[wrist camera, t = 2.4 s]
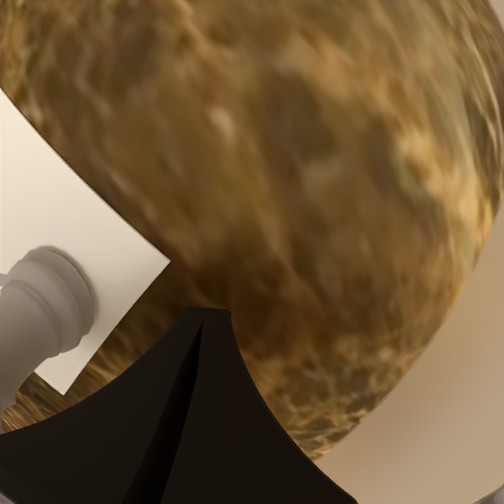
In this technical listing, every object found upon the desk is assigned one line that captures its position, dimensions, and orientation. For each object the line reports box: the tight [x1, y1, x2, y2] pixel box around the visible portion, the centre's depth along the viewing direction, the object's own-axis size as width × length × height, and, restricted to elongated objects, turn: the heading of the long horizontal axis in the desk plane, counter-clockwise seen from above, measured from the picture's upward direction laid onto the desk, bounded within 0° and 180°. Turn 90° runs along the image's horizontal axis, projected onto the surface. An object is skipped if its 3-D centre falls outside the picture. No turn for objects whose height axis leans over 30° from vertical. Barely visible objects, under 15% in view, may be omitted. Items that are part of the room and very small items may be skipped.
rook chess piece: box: [0, 248, 94, 434], centre depth 6 cm, size 4×4×8 cm
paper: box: [0, 87, 171, 395], centre depth 9 cm, size 14×12×1 cm
